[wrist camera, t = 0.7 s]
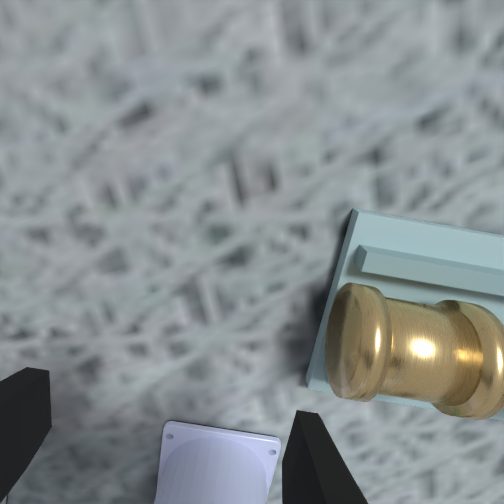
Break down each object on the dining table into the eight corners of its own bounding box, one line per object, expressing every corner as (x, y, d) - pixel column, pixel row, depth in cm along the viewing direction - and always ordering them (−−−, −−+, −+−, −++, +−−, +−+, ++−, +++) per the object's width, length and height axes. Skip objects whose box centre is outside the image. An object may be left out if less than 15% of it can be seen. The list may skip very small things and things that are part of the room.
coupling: (319, 349, 18) (342, 426, 13) (343, 266, 16) (380, 318, 11) (420, 365, 18) (481, 448, 13) (454, 285, 16) (538, 345, 11)
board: (531, 414, 20) (562, 444, 18) (305, 377, 20) (310, 404, 17) (625, 257, 17) (677, 273, 14) (353, 208, 16) (367, 217, 14)
